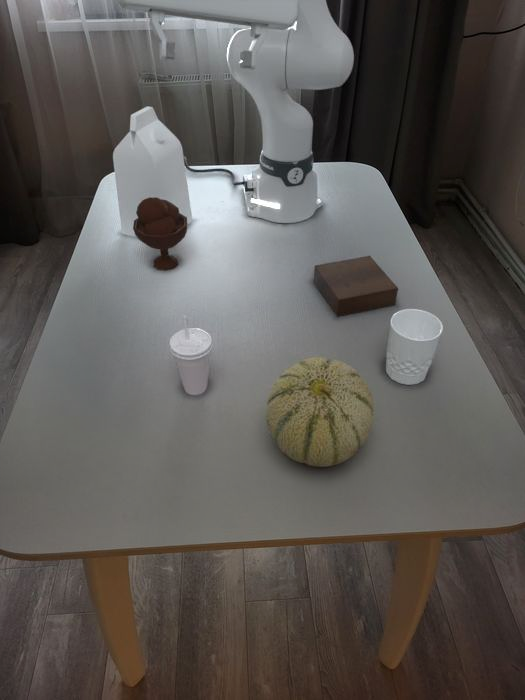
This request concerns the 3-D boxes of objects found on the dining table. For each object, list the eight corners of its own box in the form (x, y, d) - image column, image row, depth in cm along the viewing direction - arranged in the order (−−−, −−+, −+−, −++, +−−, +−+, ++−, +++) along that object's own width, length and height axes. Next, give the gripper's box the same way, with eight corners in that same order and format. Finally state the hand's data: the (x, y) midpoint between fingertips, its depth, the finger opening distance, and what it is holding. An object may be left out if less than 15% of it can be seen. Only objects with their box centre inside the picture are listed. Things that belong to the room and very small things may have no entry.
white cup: (372, 362, 94) (381, 315, 87) (412, 350, 96) (423, 304, 89) (398, 393, 88) (409, 345, 82) (439, 380, 90) (453, 332, 84)
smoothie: (191, 368, 93) (183, 300, 84) (223, 381, 90) (218, 313, 81) (167, 392, 89) (156, 323, 79) (200, 406, 86) (193, 337, 77)
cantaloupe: (339, 398, 88) (349, 323, 78) (386, 469, 77) (404, 394, 67) (251, 422, 84) (249, 347, 74) (287, 501, 73) (291, 426, 63)
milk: (151, 211, 135) (135, 98, 118) (192, 220, 131) (182, 106, 114) (122, 233, 127) (100, 116, 110) (165, 244, 123) (149, 124, 106)
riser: (313, 282, 112) (314, 265, 109) (367, 272, 115) (369, 255, 112) (337, 317, 103) (339, 299, 101) (395, 305, 106) (398, 288, 103)
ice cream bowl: (183, 280, 112) (175, 212, 103) (131, 274, 114) (119, 206, 104) (198, 253, 120) (192, 187, 110) (149, 247, 122) (139, 182, 112)
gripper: (293, -56, 65) (283, 75, 70) (113, -89, 59) (116, 57, 64) (313, -72, 60) (301, 71, 65) (116, -110, 53) (120, 51, 58)
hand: (208, 64), depth 64 cm, fingers open, 8 cm apart
